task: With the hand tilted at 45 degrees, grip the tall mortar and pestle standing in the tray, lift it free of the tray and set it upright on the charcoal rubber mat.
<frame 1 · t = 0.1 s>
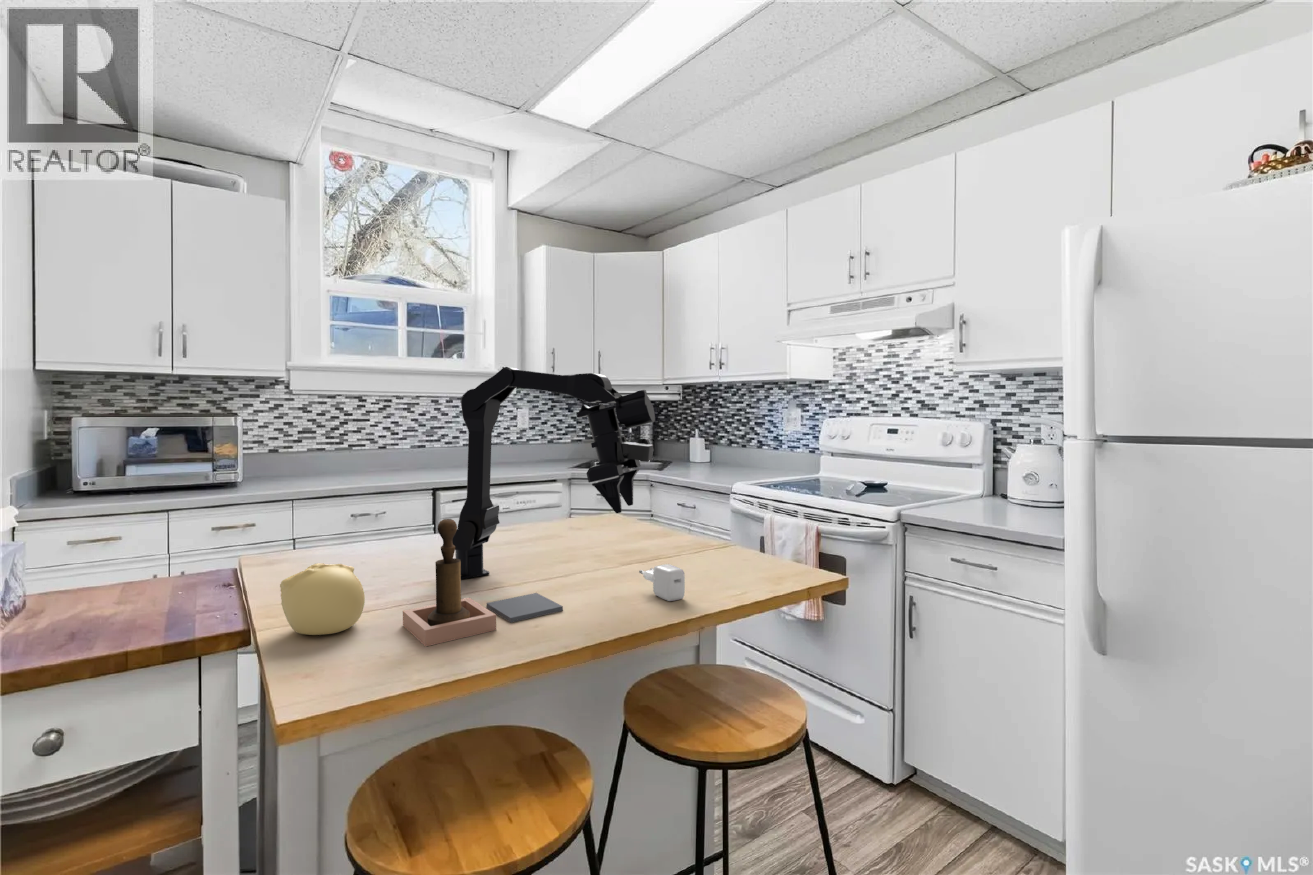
hand: (625, 509, 128), 15 cm above the worktop, tool pointing down, fingers open, 9 cm apart
mat: (524, 608, 113), on the worktop
power adapter: (661, 595, 122), on the worktop
mortar and pestle: (449, 629, 104), resting in tray
pale yellow round lump: (325, 630, 103), on the worktop
tray: (449, 627, 104), on the worktop
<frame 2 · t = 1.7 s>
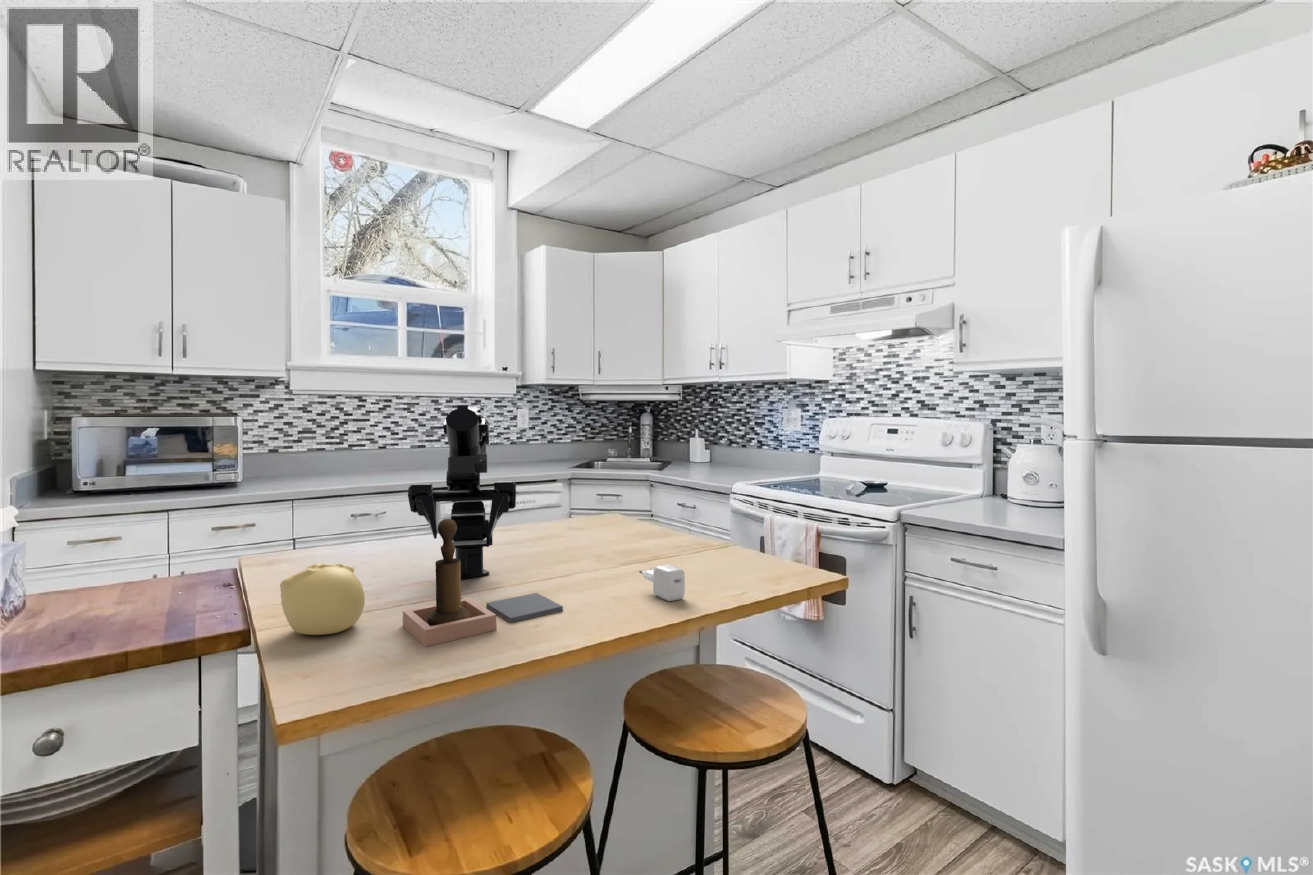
hand: (462, 536, 111), 13 cm above the worktop, tool tilted 45°, fingers open, 9 cm apart
nothing on the worktop moved.
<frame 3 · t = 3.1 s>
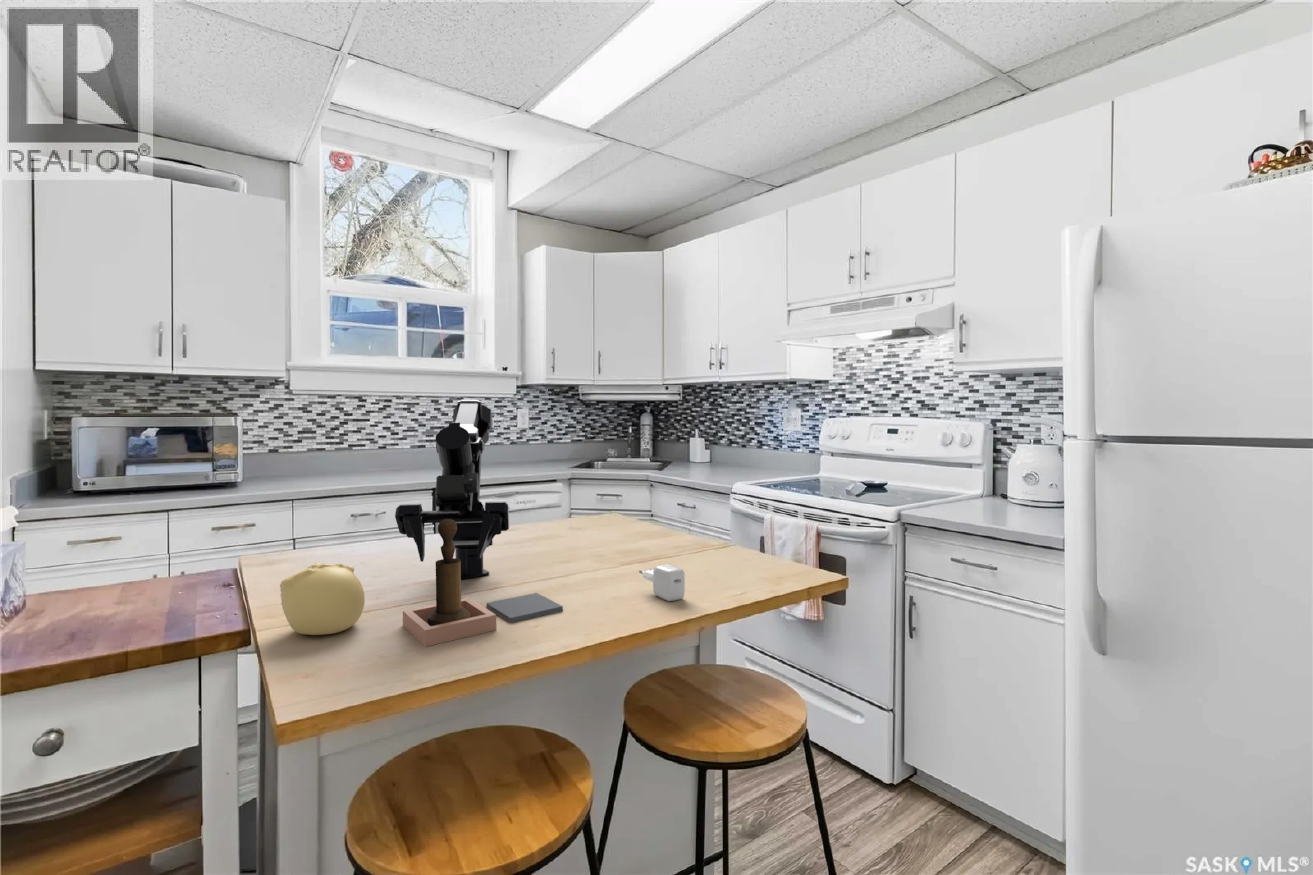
hand: (450, 559, 106), 11 cm above the worktop, tool tilted 45°, fingers open, 9 cm apart
nothing on the worktop moved.
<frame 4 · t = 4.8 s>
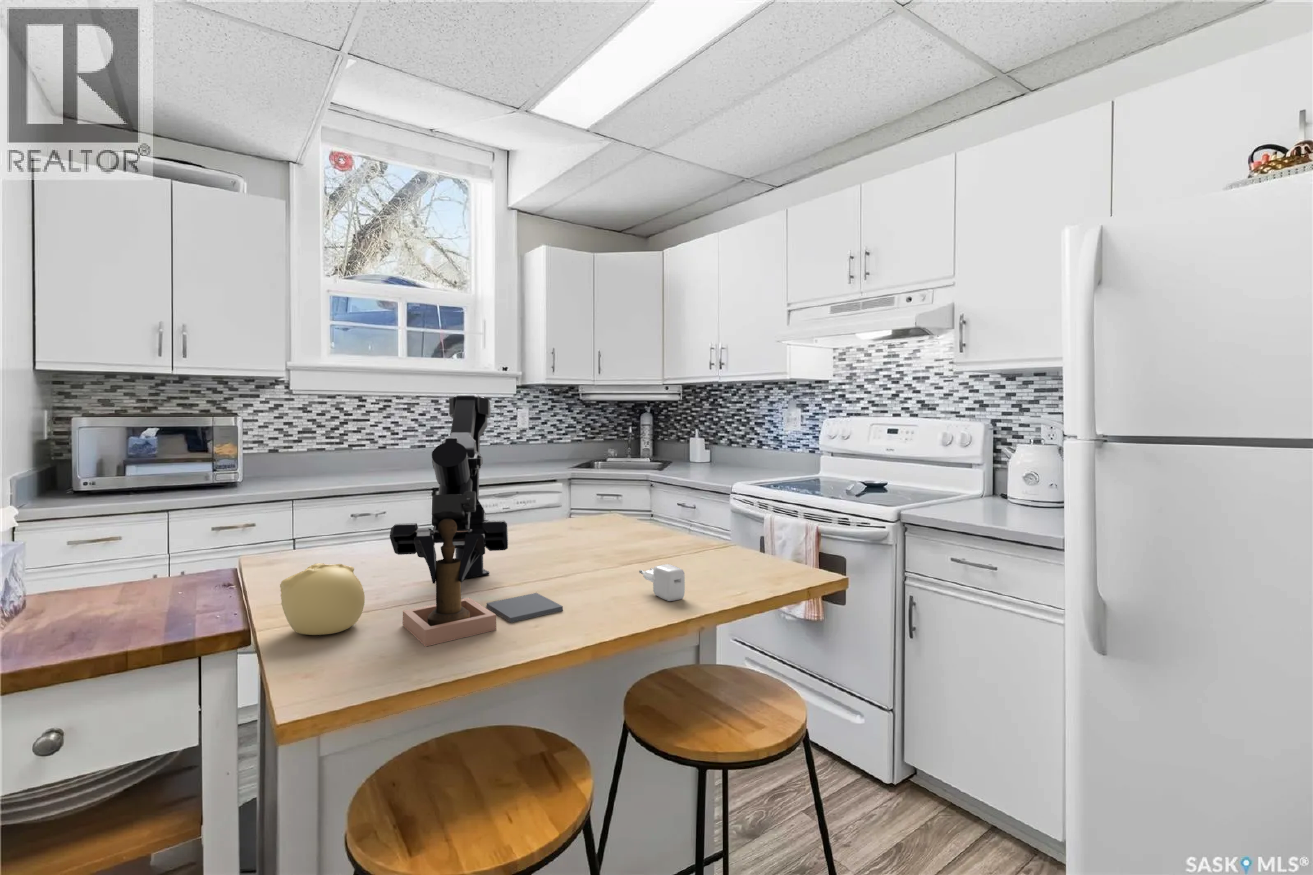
hand: (447, 581, 102), 8 cm above the worktop, tool tilted 45°, fingers closed on mortar and pestle, 4 cm apart
mortar and pestle: (449, 628, 104), resting in tray, touching gripper
everything else where it was.
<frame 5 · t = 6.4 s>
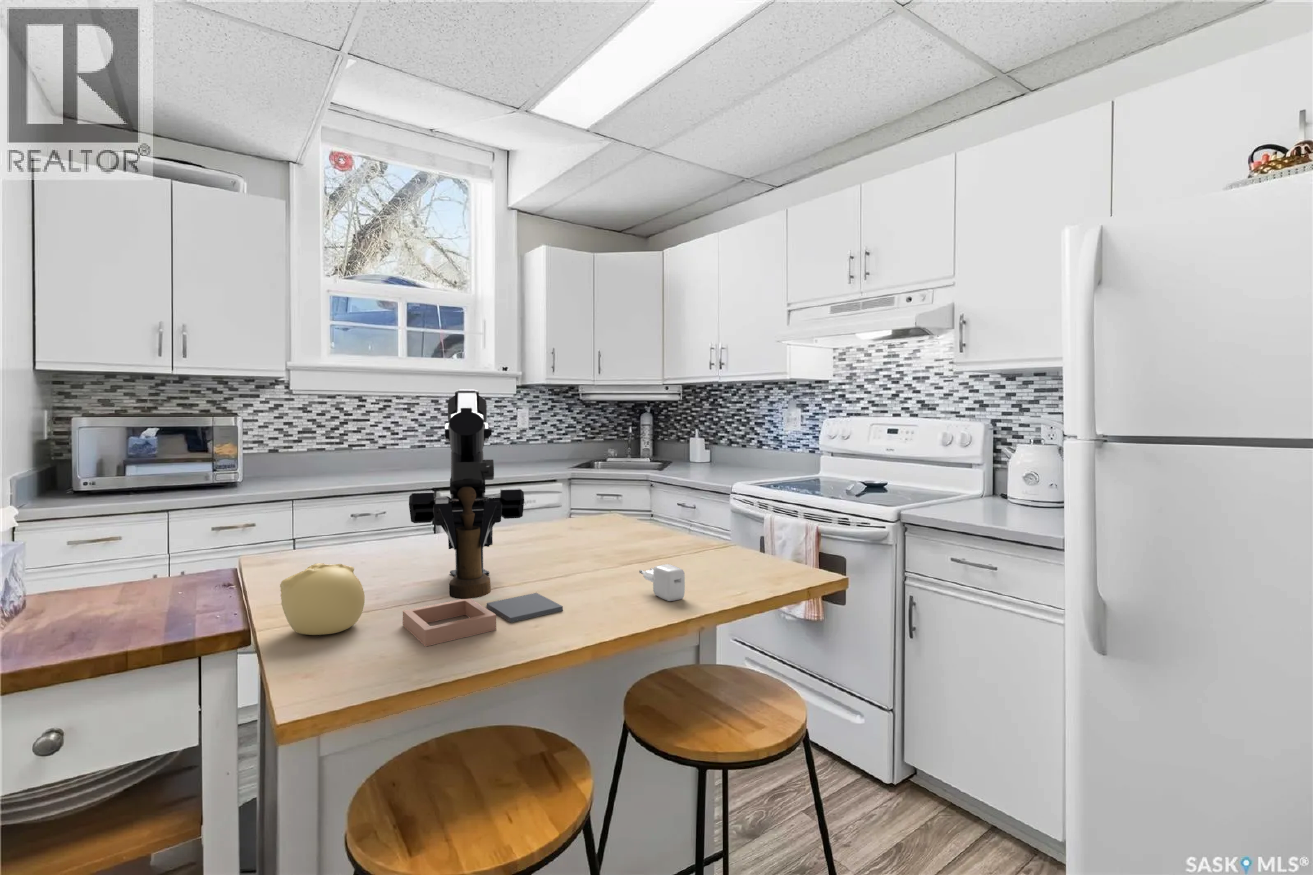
hand: (468, 547, 104), 13 cm above the worktop, tool tilted 45°, fingers closed on mortar and pestle, 4 cm apart
mortar and pestle: (470, 594, 106), point 5 cm above the worktop, touching gripper
everything else where it was.
when the fingers open (10 cm above the worktop, at t = 8.2 s): mortar and pestle drops 1 cm, resting on mat.
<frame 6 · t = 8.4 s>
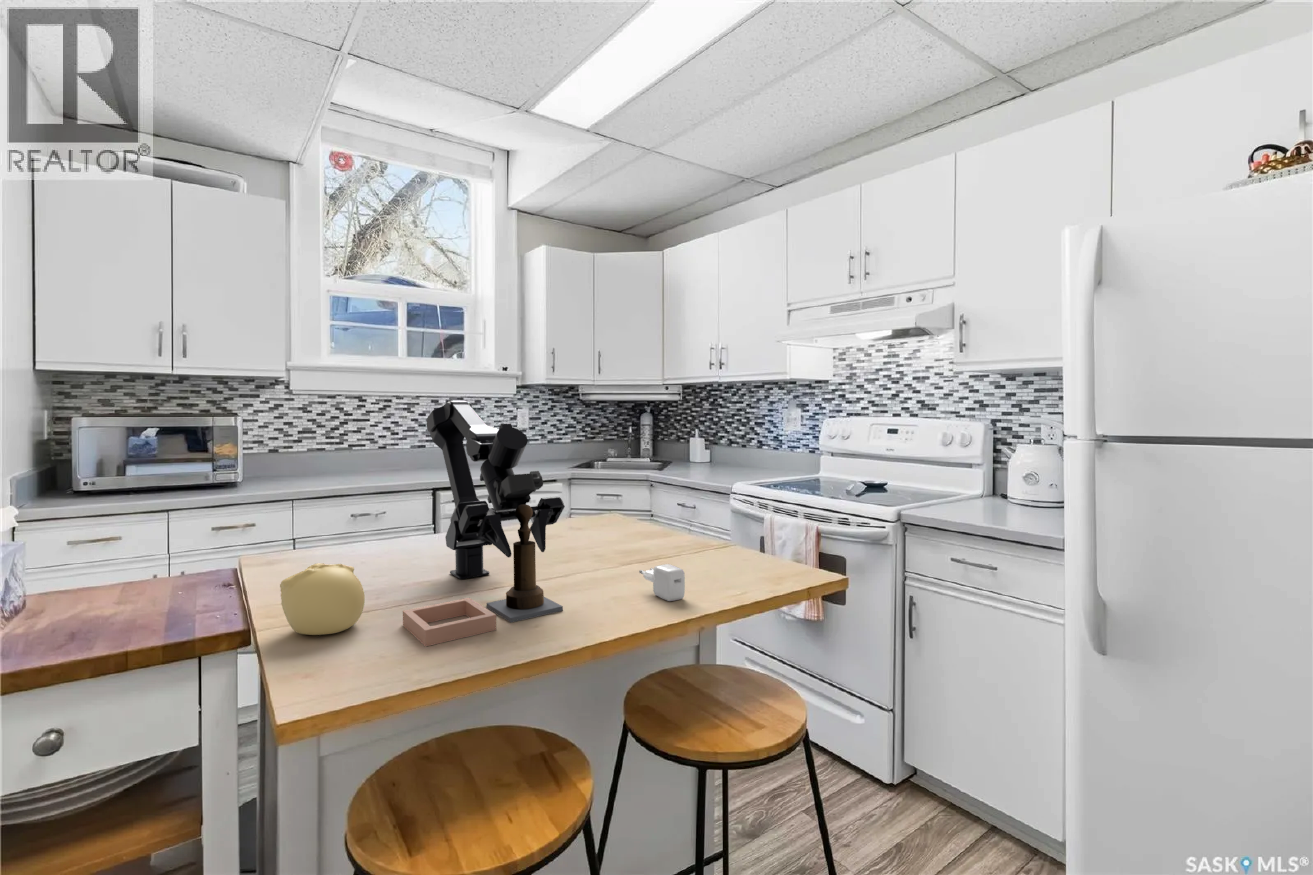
hand: (527, 553, 112), 10 cm above the worktop, tool tilted 45°, fingers open, 6 cm apart
mortar and pestle: (525, 605, 114), point 1 cm above the worktop, touching mat
everything else where it was.
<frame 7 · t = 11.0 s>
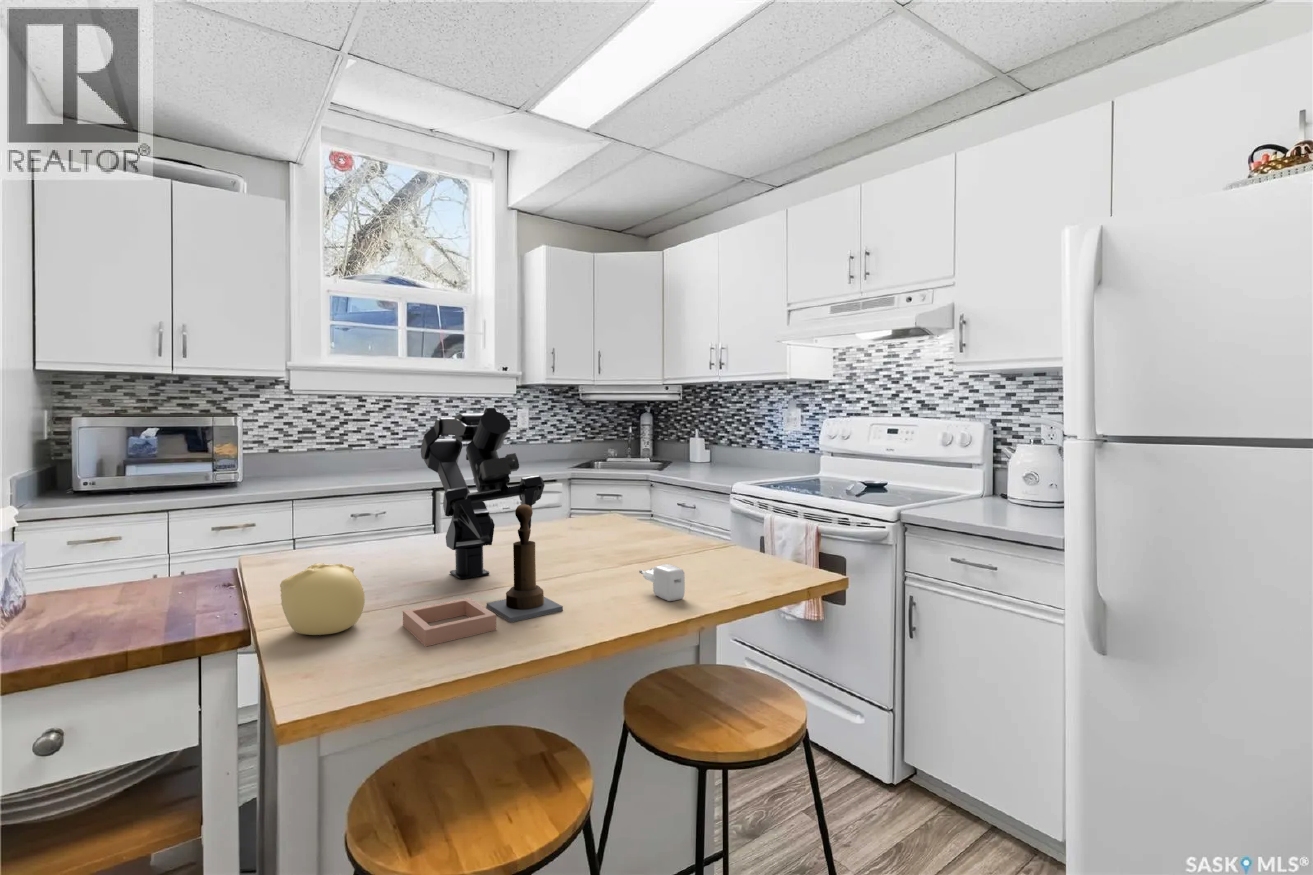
hand: (505, 532, 118), 13 cm above the worktop, tool tilted 40°, fingers open, 9 cm apart
nothing on the worktop moved.
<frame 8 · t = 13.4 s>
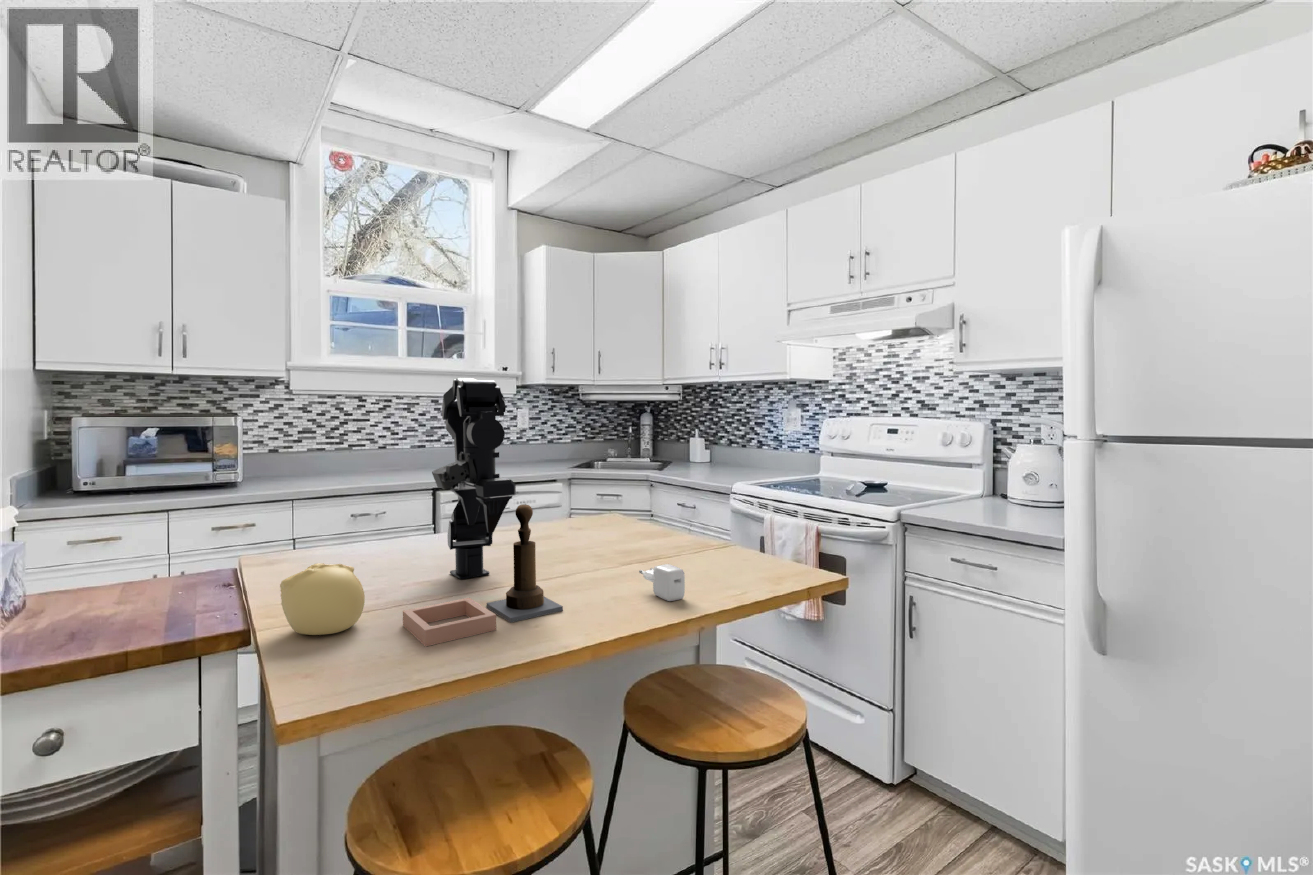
hand: (480, 528, 120), 13 cm above the worktop, tool pointing down, fingers open, 9 cm apart
nothing on the worktop moved.
at the end: mortar and pestle inside the target area on the mat (0.3 cm from its centre), point 0.6 cm above the mat's base; mortar and pestle tilted 0°; the gripper is holding nothing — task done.
